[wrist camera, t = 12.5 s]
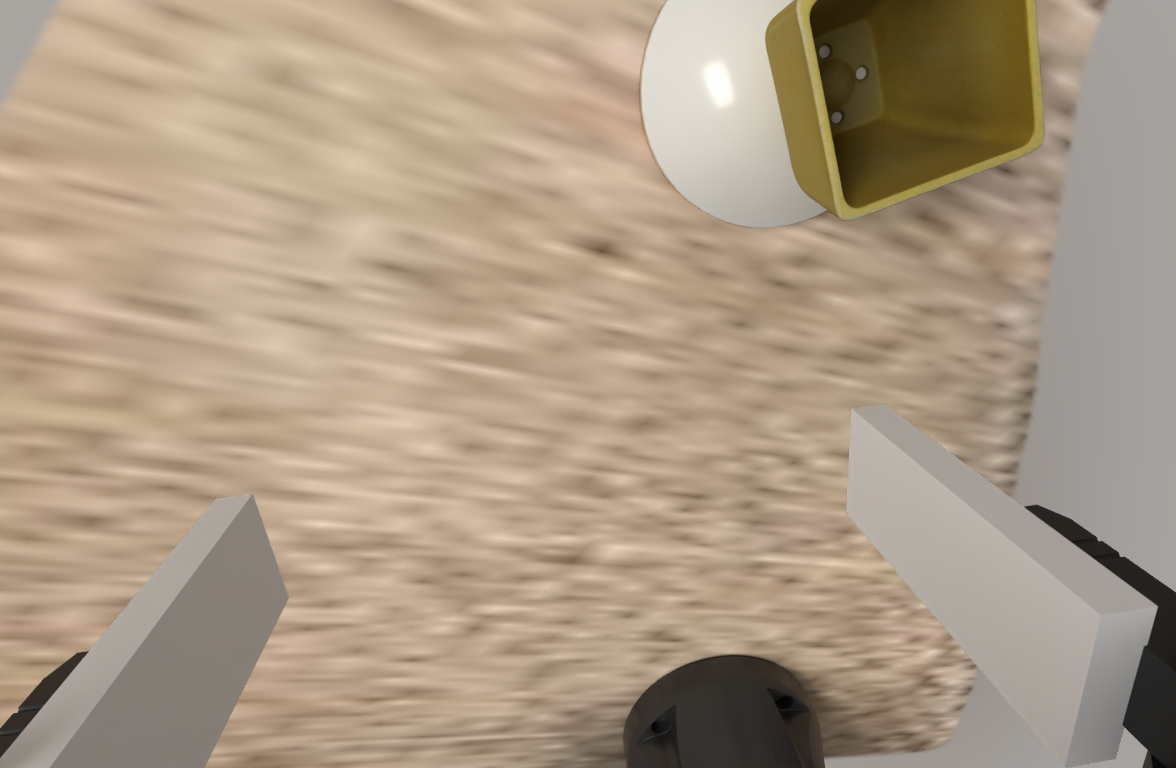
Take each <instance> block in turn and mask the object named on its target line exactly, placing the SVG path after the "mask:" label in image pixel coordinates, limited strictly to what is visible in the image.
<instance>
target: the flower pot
mask: <svg viewBox="0 0 1176 768" xmlns="http://www.w3.org/2000/svg"><path fill="white" fill-rule="evenodd" d="M765 44H766V50H767V55H768V59H769V63H770V68H771V72H772V76H773V81H774V85H775V90H776V94H777V99H778V104H779V108H780V113H781V117H782V122H783V126H784V131H785V136H786V141H787V146H788V150H789V156H790V161H791V166H792V169H793V173H794V176H795V179H796V181H797V183H798V185H799V186H800V188H801V189H802V190H803V192H804V193H805V194H807V195H808V196H809V197H810V198H811V199H813V200H814V201H815V202H817V203H818V204H820V205H821V206H822V207H824V208H825V209H827V210H828V211H829V212H831V213H832V214H834V215H835V216H837V217H838V218H839V219H841V220H843V221H850V220H853V219H857V218H860V217H863V216H865V215H868V214H870V213H873V212H876V211H878V210H881V209H884V208H887V207H889V206H892V205H894V204H897V203H900V202H902V201H905V200H907V199H910V198H912V197H915V196H918V195H920V194H923V193H926V192H928V191H931V190H934V189H937V188H939V187H942V186H944V185H947V184H949V183H952V182H955V181H957V180H960V179H963V178H965V177H968V176H971V175H974V174H976V173H979V172H982V171H984V170H987V169H990V168H993V167H996V166H998V165H1001V164H1004V163H1007V162H1010V161H1012V160H1015V159H1017V158H1020V157H1022V156H1024V155H1026V154H1028V153H1030V152H1032V151H1034V150H1036V149H1037V148H1039V147H1040V146H1041V145H1042V144H1043V141H1044V109H1043V97H1042V87H1041V71H1040V59H1039V45H1038V30H1037V14H1036V0H794V1H792V2H791V3H790V4H789V5H788V6H786V7H785V8H784V9H783V10H782V11H780V12H779V13H778V14H777V15H776V16H775V17H774V18H773V19H772V20H771V21H770V23H769V24H768V27H767V29H766V33H765ZM824 45H826V46H828V47H829V49H830V53H829V55H828V57H826V58H822V57H821V56H820V55H819V50H820V48H821V47H822V46H824ZM860 67H863V68H865V70H866V75H865V77H864V78H863V79H861V80H860V79H858V78H857V77H856V72H857V69H858V68H860ZM835 112H840V113H841V115H842V117H841V120H840V121H839V122H838V123H833V122H832V119H831V118H832V115H833V114H834V113H835Z"/></svg>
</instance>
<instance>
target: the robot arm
mask: <svg viewBox="0 0 1176 768" xmlns="http://www.w3.org/2000/svg"><path fill="white" fill-rule="evenodd" d="M846 514H847V515H848V516H849V517H850V519H851V520H852V521H853V522H854V523H855V524H856V526H857V527H858V528H859V529H860V530H861V531H862V533H863V534H864V535H865V536H866V537H867V538H868V540H869V541H870V542H871V543H872V544H873V545H874V547H875V548H876V549H877V550H878V551H879V552H880V553H881V555H882V556H883V557H884V558H885V559H886V560H887V562H888V563H889V564H890V565H891V566H892V567H893V569H894V570H895V571H896V572H897V573H898V574H899V576H900V577H901V578H902V579H903V580H904V581H905V583H906V584H907V585H908V586H909V587H910V588H911V590H912V591H913V592H914V593H915V594H916V595H917V597H918V598H919V599H920V600H921V601H922V602H923V603H924V605H925V606H926V607H927V608H928V609H929V610H930V612H931V613H932V614H933V615H934V616H935V617H936V619H937V620H938V621H939V622H940V623H941V624H942V626H943V627H944V628H945V629H946V630H947V631H948V633H949V634H950V635H951V636H952V637H953V638H954V640H955V641H956V642H957V643H958V644H959V645H960V647H961V648H962V649H963V650H964V651H965V652H966V653H967V655H968V656H969V657H970V658H971V659H972V660H973V662H974V663H975V664H976V665H977V666H978V667H979V669H980V670H981V671H982V672H983V673H984V674H985V676H986V677H987V678H988V679H989V680H990V681H991V682H992V684H993V685H994V686H995V687H996V688H997V690H998V691H999V692H1000V693H1001V694H1002V695H1003V697H1004V698H1005V699H1006V700H1007V701H1008V702H1009V703H1010V705H1011V706H1012V707H1013V708H1014V709H1015V710H1016V712H1017V713H1018V714H1019V715H1020V716H1021V717H1022V719H1023V720H1024V721H1025V722H1026V723H1027V724H1028V726H1029V727H1030V728H1031V729H1032V730H1033V731H1034V733H1036V735H1037V736H1038V737H1039V738H1040V740H1042V742H1043V743H1044V744H1045V745H1046V746H1047V748H1048V749H1049V750H1050V751H1051V752H1052V753H1053V755H1054V756H1055V757H1056V758H1057V759H1058V760H1059V762H1060V763H1061V764H1062V765H1063V766H1064V767H1065V768H1067V767H1072V766H1078V765H1083V764H1089V763H1095V762H1101V761H1106V760H1112V759H1115V758H1116V755H1117V752H1118V748H1119V744H1120V740H1121V737H1122V734H1123V730H1124V727H1125V728H1126V729H1127V730H1128V731H1129V732H1130V733H1131V734H1132V735H1133V736H1134V737H1135V738H1136V739H1137V740H1138V741H1139V742H1140V743H1141V744H1142V745H1143V746H1144V747H1145V748H1146V749H1147V750H1148V751H1147V755H1146V758H1145V761H1144V764H1143V768H1176V592H1174V591H1173V590H1171V589H1170V588H1169V587H1167V586H1166V585H1164V584H1163V583H1161V582H1160V581H1159V580H1157V579H1155V578H1154V577H1153V576H1151V575H1150V574H1149V573H1147V572H1146V571H1144V570H1143V569H1141V568H1140V567H1138V566H1137V565H1136V564H1134V563H1133V562H1131V561H1130V560H1129V559H1127V558H1126V557H1120V556H1119V552H1117V551H1116V550H1114V549H1113V548H1111V547H1110V546H1108V545H1107V544H1106V543H1104V542H1103V541H1100V542H1099V541H1098V540H1097V537H1096V536H1094V535H1093V534H1091V533H1090V532H1088V531H1087V530H1086V529H1084V528H1083V527H1081V526H1080V525H1078V524H1077V523H1076V522H1074V521H1073V520H1071V519H1069V518H1067V517H1065V516H1062V515H1060V514H1058V513H1055V512H1053V511H1050V510H1048V509H1046V508H1043V507H1041V506H1039V505H1032V506H1026V507H1023V506H1021V505H1020V504H1019V503H1018V502H1016V501H1015V500H1014V499H1012V498H1011V497H1010V496H1008V495H1007V494H1005V493H1004V492H1003V491H1001V490H1000V489H999V488H997V487H996V486H995V485H993V484H992V483H991V482H989V481H988V480H987V479H985V478H984V477H983V476H981V475H980V474H978V473H977V472H976V471H974V470H973V469H972V468H970V467H969V466H968V465H966V464H965V463H964V462H962V461H961V460H960V459H958V458H957V457H955V456H954V455H953V454H951V453H950V452H949V451H947V450H946V449H945V448H943V447H942V446H941V445H939V444H938V443H937V442H935V441H934V440H933V439H931V438H930V437H928V436H927V435H926V434H924V433H923V432H922V431H920V430H919V429H918V428H916V427H915V426H914V425H912V424H911V423H910V422H908V421H907V420H906V419H904V418H903V417H901V416H900V415H899V414H897V413H896V412H895V411H893V410H892V409H891V408H889V407H888V406H887V405H885V404H881V405H874V406H867V407H860V408H853V409H851V428H850V448H849V468H848V488H847V508H846ZM288 598H289V597H288V594H287V591H286V588H285V585H284V582H283V579H282V576H281V574H280V571H279V568H278V565H277V562H276V559H275V556H274V554H273V551H272V548H271V545H270V542H269V539H268V536H267V533H266V531H265V528H264V525H263V522H262V519H261V516H260V513H259V510H258V508H257V505H256V502H255V499H254V496H253V494H247V495H240V496H233V497H226V498H219V499H215V501H214V502H213V503H212V504H211V505H210V507H209V508H208V509H207V510H206V511H205V513H204V514H203V515H202V516H201V517H200V519H199V520H198V521H197V522H196V523H195V525H194V526H193V527H192V528H191V529H190V531H189V532H188V533H187V534H186V535H185V537H184V538H183V539H182V540H181V541H180V543H179V544H178V545H177V546H176V547H175V549H174V550H173V551H172V552H171V553H170V555H169V556H168V557H167V558H166V559H165V561H164V562H163V563H162V564H161V565H160V567H159V568H158V569H157V570H156V571H155V573H154V574H153V575H152V576H151V577H150V579H149V580H148V581H147V582H146V584H145V585H144V586H143V587H142V588H141V590H140V591H139V592H138V593H137V594H136V596H135V597H134V598H133V599H132V600H131V602H130V603H129V604H128V605H127V606H126V608H125V609H124V610H123V611H122V612H121V614H120V615H119V616H118V617H117V618H116V620H115V621H114V622H113V623H112V624H111V626H110V627H109V628H108V629H107V630H106V632H105V633H104V634H103V635H102V636H101V638H100V639H99V640H98V641H97V642H96V644H95V645H94V646H93V647H92V648H91V650H90V651H87V652H81V653H77V654H75V655H74V656H73V657H71V658H70V659H69V660H68V661H66V662H65V663H64V664H62V665H61V666H60V667H59V668H57V669H56V670H55V671H53V672H52V673H51V674H49V675H48V676H47V677H46V678H44V679H43V680H42V681H41V682H40V684H39V685H38V686H37V687H36V688H35V689H34V690H33V692H32V693H31V694H30V695H29V696H28V697H27V698H26V700H25V701H24V702H23V703H22V704H21V705H20V706H19V708H18V709H19V710H18V713H14V714H12V716H11V717H10V718H9V719H8V720H7V721H6V723H5V724H4V725H3V726H2V727H1V728H0V768H204V767H205V765H206V763H207V761H208V759H209V757H210V755H211V753H212V751H213V749H214V747H215V745H216V743H217V741H218V739H219V737H220V735H221V733H222V731H223V729H224V727H225V725H226V723H227V721H228V719H229V717H230V715H231V713H232V711H233V709H234V707H235V705H236V703H237V701H238V699H239V697H240V695H241V693H242V691H243V689H244V687H245V685H246V683H247V681H248V679H249V677H250V675H251V673H252V671H253V669H254V667H255V665H256V663H257V661H258V659H259V657H260V655H261V653H262V651H263V649H264V647H265V645H266V643H267V641H268V639H269V637H270V635H271V633H272V631H273V629H274V627H275V625H276V623H277V621H278V619H279V617H280V614H281V612H282V610H283V608H284V606H285V604H286V602H287V600H288ZM623 744H624V751H625V757H626V763H627V768H825V764H824V756H823V749H822V741H821V733H820V727H819V723H818V719H817V716H816V714H815V711H814V709H813V707H812V705H811V703H810V701H809V699H808V697H807V695H806V693H805V691H804V689H803V688H802V686H801V685H800V683H799V682H798V681H797V680H796V679H795V678H794V677H793V676H792V675H791V674H790V673H789V672H787V671H786V670H784V669H783V668H781V667H779V666H777V665H775V664H773V663H770V662H767V661H764V660H761V659H756V658H750V657H738V656H731V657H718V658H712V659H707V660H702V661H699V662H695V663H692V664H689V665H687V666H684V667H682V668H680V669H678V670H676V671H674V672H672V673H670V674H668V675H667V676H665V677H663V678H662V679H660V680H659V681H658V682H656V683H655V684H654V685H652V686H651V687H650V688H649V689H648V690H647V691H646V692H645V693H644V694H643V695H642V696H641V697H640V698H639V700H638V701H637V702H636V704H635V705H634V707H633V708H632V710H631V712H630V714H629V716H628V718H627V721H626V724H625V728H624V734H623Z"/></svg>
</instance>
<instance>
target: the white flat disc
mask: <svg viewBox="0 0 1176 768" xmlns="http://www.w3.org/2000/svg"><path fill="white" fill-rule="evenodd" d="M792 1H794V0H666V1H665V3H664V4H663V6H662V8H661V9H660V11H659V13H658V15H657V17H656V19H655V22H654V24H653V26H652V28H651V31H650V34H649V37H648V40H647V43H646V46H645V49H644V54H643V59H642V64H641V70H640V82H639V103H640V114H641V120H642V126H643V130H644V133H645V137H646V140H647V144H648V146H649V149H650V151H651V153H652V155H653V158H654V160H655V162H656V164H657V165H658V167H659V169H660V170H661V172H662V174H663V175H664V177H665V178H666V179H667V180H668V182H669V183H670V184H671V185H672V187H673V188H674V189H675V190H676V191H677V192H678V193H679V194H680V195H682V196H683V197H684V198H685V199H686V200H687V201H688V202H690V203H691V204H693V205H694V206H696V207H697V208H698V209H700V210H702V211H704V212H706V213H708V214H710V215H712V216H714V217H716V218H718V219H721V220H724V221H727V222H730V223H732V224H736V225H742V226H747V227H761V228H769V227H779V226H786V225H790V224H794V223H798V222H801V221H804V220H807V219H809V218H812V217H815V216H817V215H819V214H820V213H822V212H824V211H826V210H827V209H825V208H824V207H822V206H821V205H820V204H818V203H817V202H815V201H814V200H813V199H811V198H810V197H809V196H808V195H807V194H805V193H804V192H803V190H802V189H801V188H800V186H799V185H798V183H797V181H796V179H795V176H794V173H793V169H792V166H791V161H790V156H789V150H788V146H787V141H786V136H785V131H784V126H783V122H782V117H781V113H780V108H779V104H778V99H777V94H776V90H775V85H774V81H773V76H772V72H771V68H770V63H769V59H768V55H767V50H766V44H765V33H766V29H767V27H768V24H769V23H770V21H771V20H772V19H773V18H774V17H775V16H776V15H777V14H778V13H779V12H780V11H782V10H783V9H784V8H785V7H786V6H788V5H789V4H790V3H791V2H792ZM829 53H830V49H829V47H828V46H826V45H824V46H822V47H821V48H820V50H819V55H820V56H821V57H822V58H826V57H828V55H829ZM865 75H866V70H865V68H863V67H860V68H858V69H857V72H856V77H857V78H858V79H860V80H861V79H863V78H864V77H865ZM841 117H842V115H841V113H840V112H835V113H834V114H833V115H832V118H831V119H832V122H833V123H838V122H839V121H840V120H841Z"/></svg>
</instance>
